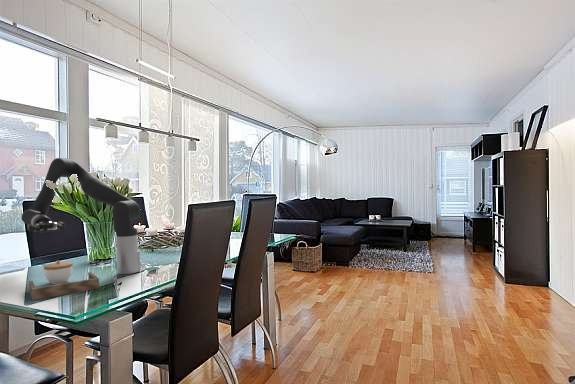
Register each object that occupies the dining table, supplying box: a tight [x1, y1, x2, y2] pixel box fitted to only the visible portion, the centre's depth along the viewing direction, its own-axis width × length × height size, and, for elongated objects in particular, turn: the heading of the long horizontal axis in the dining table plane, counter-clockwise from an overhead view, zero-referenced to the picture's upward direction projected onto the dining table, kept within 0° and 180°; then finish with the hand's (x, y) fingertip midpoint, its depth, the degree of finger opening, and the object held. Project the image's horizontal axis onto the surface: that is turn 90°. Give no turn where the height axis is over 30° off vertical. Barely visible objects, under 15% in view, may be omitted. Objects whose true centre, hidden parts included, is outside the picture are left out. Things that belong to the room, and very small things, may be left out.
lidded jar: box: [43, 259, 74, 285], centre depth 170 cm, size 11×11×9 cm
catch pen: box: [28, 271, 100, 301], centre depth 158 cm, size 22×15×4 cm
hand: (50, 229), depth 178 cm, fingers open, 8 cm apart
